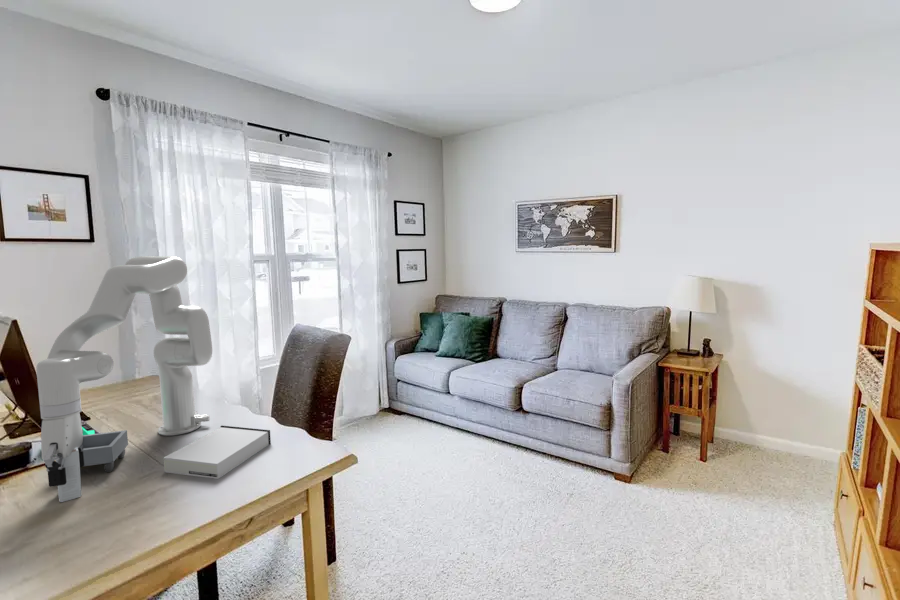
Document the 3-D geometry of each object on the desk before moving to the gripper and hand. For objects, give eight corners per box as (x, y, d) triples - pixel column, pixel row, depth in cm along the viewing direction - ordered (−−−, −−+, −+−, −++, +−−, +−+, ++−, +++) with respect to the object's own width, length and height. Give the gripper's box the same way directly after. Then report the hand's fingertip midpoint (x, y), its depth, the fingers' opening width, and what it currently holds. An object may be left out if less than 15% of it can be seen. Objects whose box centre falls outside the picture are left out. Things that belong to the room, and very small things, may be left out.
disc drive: (271, 445, 141) (270, 429, 141) (219, 480, 119) (217, 462, 119) (223, 440, 145) (222, 425, 145) (164, 473, 123) (162, 456, 123)
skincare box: (57, 494, 112) (52, 447, 111) (80, 487, 116) (76, 442, 114) (59, 503, 108) (54, 455, 107) (83, 496, 111) (78, 449, 110)
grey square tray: (129, 454, 134) (126, 430, 134) (114, 472, 123) (111, 446, 122) (80, 460, 130) (77, 435, 130) (60, 480, 119) (57, 453, 118)
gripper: (59, 399, 116) (65, 463, 118) (21, 422, 100) (29, 496, 102) (94, 396, 119) (99, 458, 120) (63, 418, 102) (70, 490, 104)
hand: (67, 475), depth 111 cm, fingers open, 9 cm apart
